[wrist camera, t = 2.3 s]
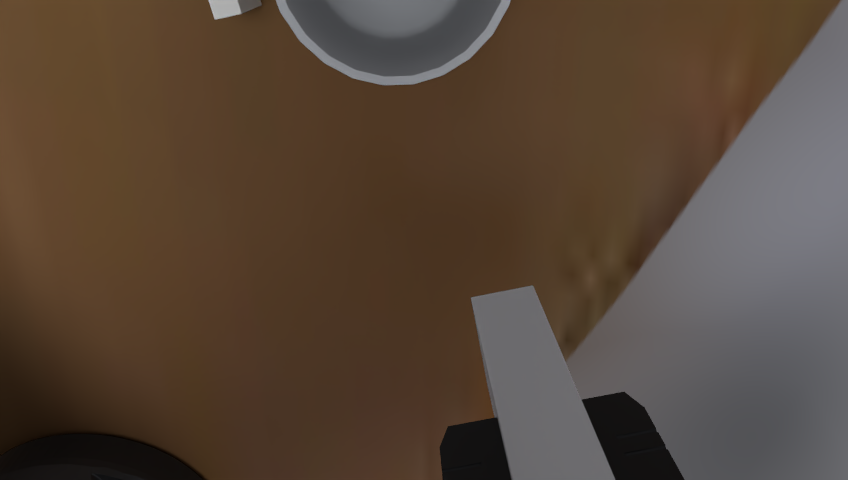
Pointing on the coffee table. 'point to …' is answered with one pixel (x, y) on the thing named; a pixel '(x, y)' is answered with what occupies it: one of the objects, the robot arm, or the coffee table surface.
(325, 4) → the cup
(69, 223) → the coffee table surface
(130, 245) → the coffee table surface
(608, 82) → the coffee table surface
